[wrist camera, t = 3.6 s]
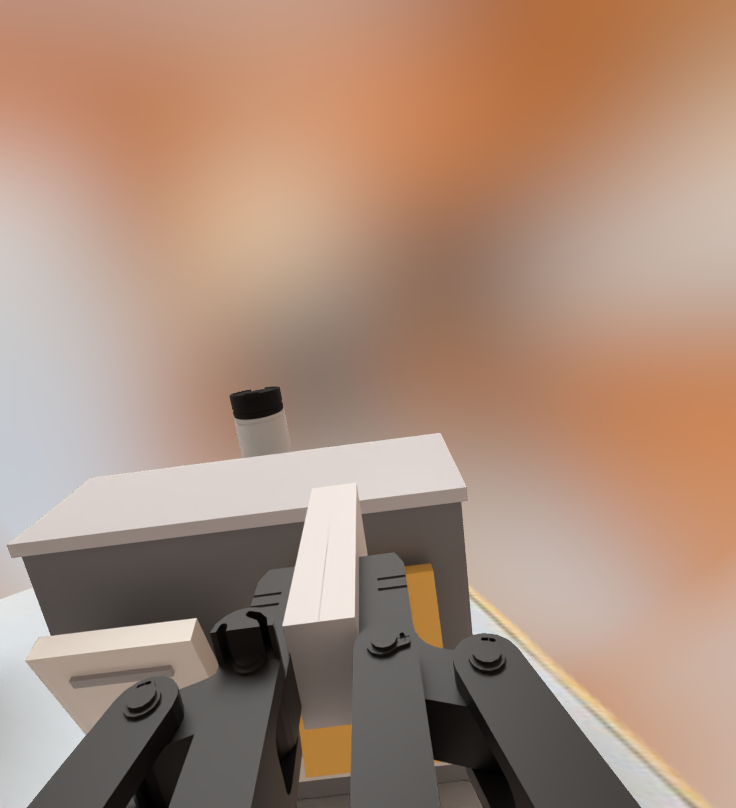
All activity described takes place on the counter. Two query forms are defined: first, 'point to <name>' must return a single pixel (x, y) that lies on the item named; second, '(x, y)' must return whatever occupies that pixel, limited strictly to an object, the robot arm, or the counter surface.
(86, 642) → the rocker ivory
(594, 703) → the counter surface
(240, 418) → the travel mug
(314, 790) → the switch panel
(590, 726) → the counter surface
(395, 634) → the robot arm
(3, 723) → the counter surface
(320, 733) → the rocker amber
